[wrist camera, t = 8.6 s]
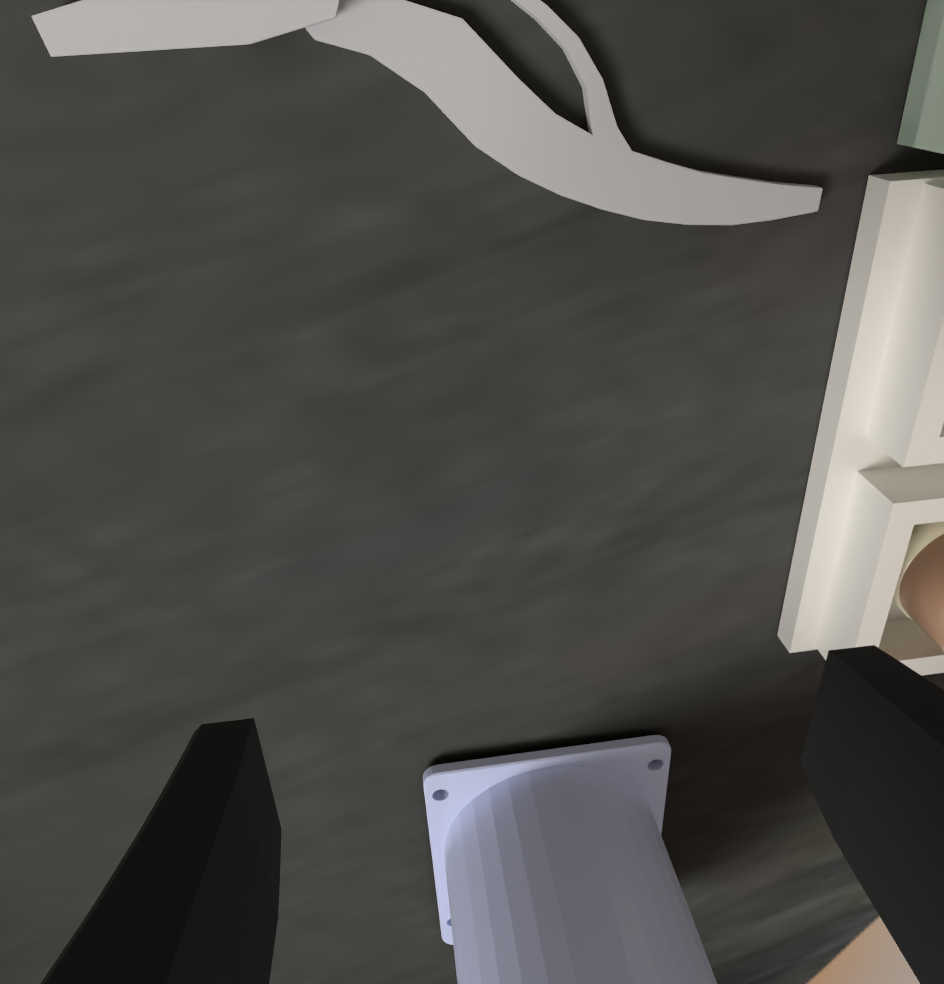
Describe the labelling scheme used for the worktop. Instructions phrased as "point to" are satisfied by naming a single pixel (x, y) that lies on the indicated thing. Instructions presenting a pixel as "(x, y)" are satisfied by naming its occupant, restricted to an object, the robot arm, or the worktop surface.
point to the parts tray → (926, 86)
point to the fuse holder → (877, 434)
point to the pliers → (452, 95)
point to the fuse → (924, 581)
